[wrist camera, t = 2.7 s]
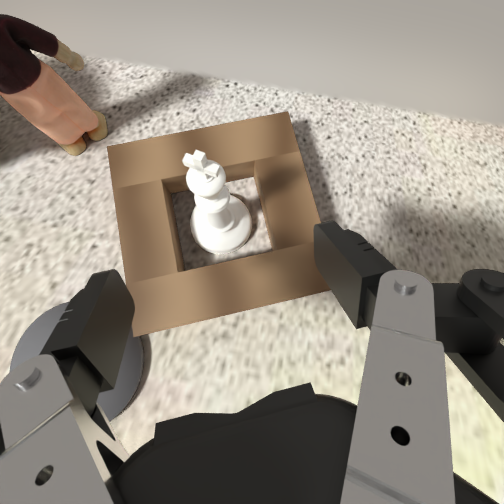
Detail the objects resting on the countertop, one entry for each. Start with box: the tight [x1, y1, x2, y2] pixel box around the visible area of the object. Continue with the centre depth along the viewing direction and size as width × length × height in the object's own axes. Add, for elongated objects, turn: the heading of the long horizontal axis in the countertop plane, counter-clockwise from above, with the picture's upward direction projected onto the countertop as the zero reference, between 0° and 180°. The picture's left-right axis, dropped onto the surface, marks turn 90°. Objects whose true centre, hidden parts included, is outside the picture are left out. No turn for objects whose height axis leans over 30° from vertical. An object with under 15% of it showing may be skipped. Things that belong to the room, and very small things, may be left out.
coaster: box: [10, 302, 144, 422], centre depth 19 cm, size 9×9×1 cm
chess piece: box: [182, 150, 252, 254], centre depth 16 cm, size 5×5×10 cm
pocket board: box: [107, 111, 331, 337], centre depth 20 cm, size 14×14×2 cm
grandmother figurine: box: [0, 14, 108, 156], centre depth 16 cm, size 8×4×13 cm, turn 137°
